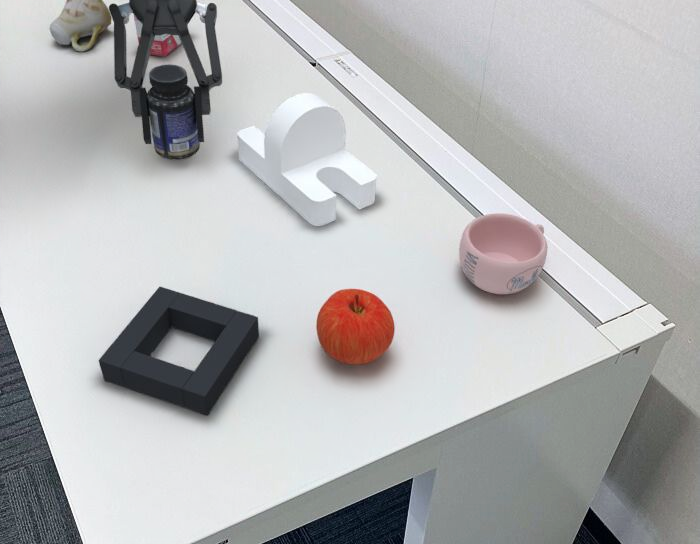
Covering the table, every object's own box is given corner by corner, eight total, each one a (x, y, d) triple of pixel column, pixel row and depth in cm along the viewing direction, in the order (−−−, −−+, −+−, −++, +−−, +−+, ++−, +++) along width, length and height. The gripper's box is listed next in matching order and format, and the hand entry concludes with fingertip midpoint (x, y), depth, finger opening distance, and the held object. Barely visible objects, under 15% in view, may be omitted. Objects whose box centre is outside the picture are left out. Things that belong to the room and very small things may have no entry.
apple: (300, 351, 82) (300, 296, 76) (350, 313, 87) (354, 259, 81) (356, 391, 79) (360, 337, 73) (405, 350, 83) (413, 296, 77)
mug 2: (496, 317, 87) (506, 278, 83) (437, 269, 92) (444, 230, 88) (566, 276, 93) (579, 238, 88) (507, 233, 98) (516, 195, 93)
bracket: (235, 156, 106) (230, 79, 98) (296, 134, 111) (295, 59, 102) (315, 228, 96) (317, 149, 88) (378, 201, 101) (385, 124, 93)
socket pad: (103, 379, 78) (98, 360, 76) (163, 305, 86) (159, 286, 84) (207, 415, 76) (205, 396, 74) (259, 336, 83) (258, 316, 81)
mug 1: (39, 44, 126) (42, -22, 123) (92, 54, 133) (96, -8, 130) (64, 48, 121) (67, -21, 118) (117, 58, 129) (122, -6, 126)
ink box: (164, 59, 124) (154, -17, 115) (137, 52, 125) (125, -23, 116) (191, 36, 130) (183, -37, 121) (164, 30, 131) (155, -43, 122)
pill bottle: (206, 141, 107) (200, 66, 99) (190, 165, 102) (182, 88, 94) (164, 133, 107) (154, 57, 99) (146, 157, 103) (135, 80, 95)
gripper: (234, -29, 104) (247, 144, 105) (88, -28, 101) (103, 150, 102) (235, -55, 96) (249, 131, 98) (76, -56, 94) (93, 136, 95)
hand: (174, 140), depth 100 cm, fingers closed on pill bottle, 6 cm apart
